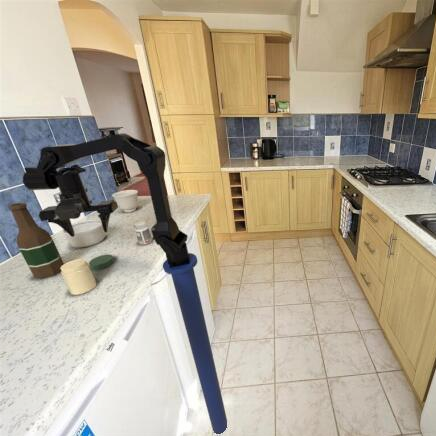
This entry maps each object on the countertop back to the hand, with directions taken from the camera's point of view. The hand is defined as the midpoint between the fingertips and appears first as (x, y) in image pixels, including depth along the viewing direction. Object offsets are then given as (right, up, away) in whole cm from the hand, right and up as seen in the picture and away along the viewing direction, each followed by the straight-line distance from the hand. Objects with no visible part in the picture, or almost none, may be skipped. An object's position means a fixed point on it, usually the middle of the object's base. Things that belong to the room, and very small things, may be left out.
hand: (90, 234), depth 80 cm
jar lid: (0, -10, +5) cm, 11 cm away
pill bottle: (+7, -5, +19) cm, 21 cm away
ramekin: (-18, -5, +21) cm, 28 cm away
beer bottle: (-14, -13, +1) cm, 19 cm away
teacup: (-23, +10, +55) cm, 60 cm away
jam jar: (+4, -16, -7) cm, 18 cm away
